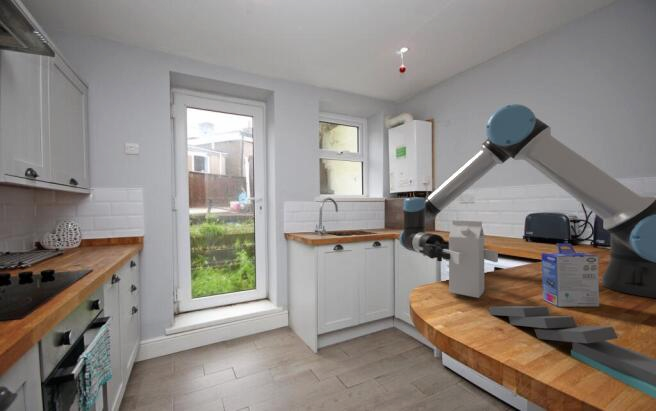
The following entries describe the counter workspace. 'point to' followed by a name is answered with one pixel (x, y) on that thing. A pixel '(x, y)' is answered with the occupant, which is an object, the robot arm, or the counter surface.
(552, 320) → the domino
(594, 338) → the domino
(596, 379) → the counter surface
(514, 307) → the domino
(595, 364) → the domino
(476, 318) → the counter surface
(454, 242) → the milk carton
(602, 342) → the domino
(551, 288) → the ink cartridge box
